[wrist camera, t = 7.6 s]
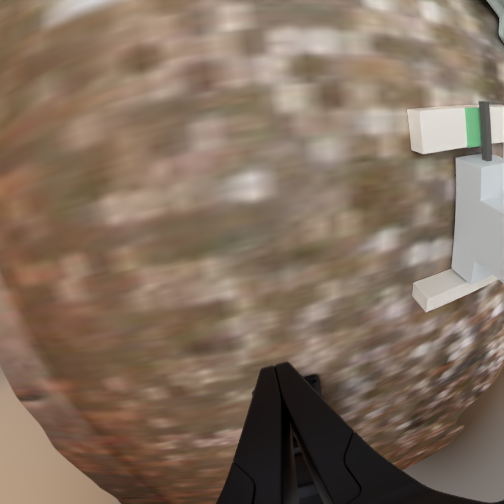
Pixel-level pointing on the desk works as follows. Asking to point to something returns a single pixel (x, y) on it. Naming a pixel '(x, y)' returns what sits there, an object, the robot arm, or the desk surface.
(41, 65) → the desk surface
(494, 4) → the metal bracket
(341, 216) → the desk surface
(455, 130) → the gauge housing
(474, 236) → the gauge plunger
